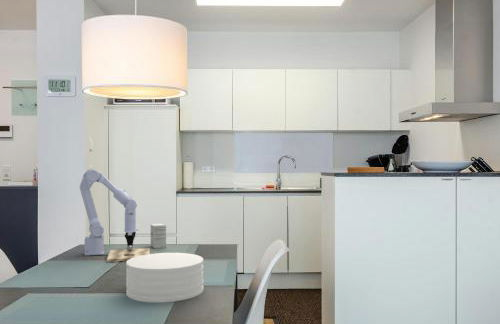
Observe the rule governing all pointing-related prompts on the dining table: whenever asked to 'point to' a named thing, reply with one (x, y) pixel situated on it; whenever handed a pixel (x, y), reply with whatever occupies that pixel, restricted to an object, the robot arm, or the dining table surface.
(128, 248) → the steel ball
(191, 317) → the dining table surface
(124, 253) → the birch board
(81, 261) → the dining table surface
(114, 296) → the dining table surface
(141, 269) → the plate stack
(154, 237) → the supplement box
